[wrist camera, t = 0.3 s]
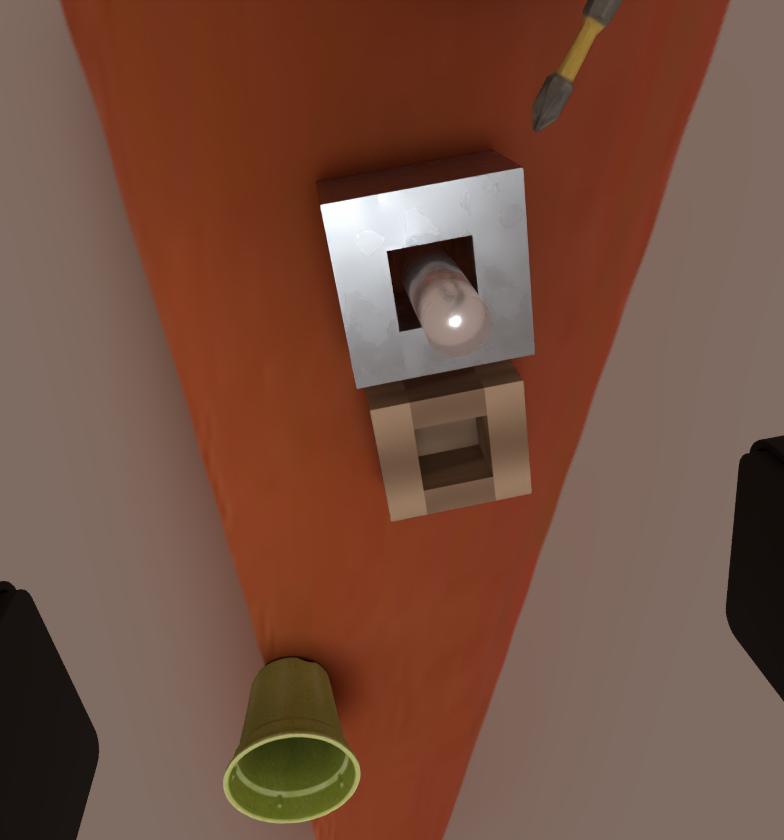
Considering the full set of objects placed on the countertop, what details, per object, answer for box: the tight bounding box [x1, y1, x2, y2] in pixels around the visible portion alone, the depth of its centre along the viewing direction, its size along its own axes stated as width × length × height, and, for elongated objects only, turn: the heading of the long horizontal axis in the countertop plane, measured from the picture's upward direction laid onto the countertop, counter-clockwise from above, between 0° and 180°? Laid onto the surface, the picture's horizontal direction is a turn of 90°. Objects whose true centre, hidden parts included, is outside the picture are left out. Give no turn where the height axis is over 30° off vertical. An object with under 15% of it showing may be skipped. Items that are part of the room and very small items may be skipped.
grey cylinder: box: [392, 241, 492, 357], centre depth 38 cm, size 3×3×12 cm
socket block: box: [316, 150, 535, 389], centre depth 40 cm, size 10×10×6 cm
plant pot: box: [223, 657, 360, 823], centre depth 54 cm, size 9×9×9 cm
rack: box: [365, 359, 532, 522], centre depth 46 cm, size 8×9×5 cm
